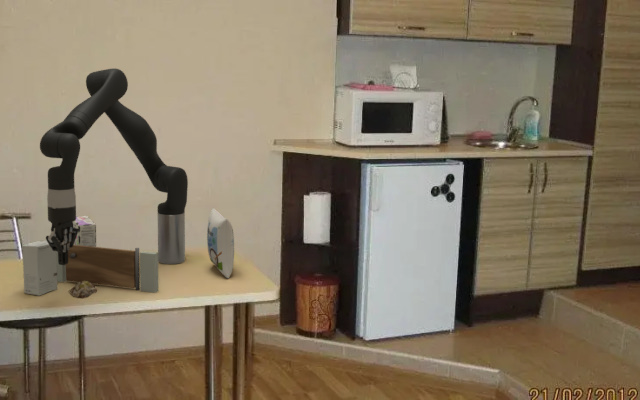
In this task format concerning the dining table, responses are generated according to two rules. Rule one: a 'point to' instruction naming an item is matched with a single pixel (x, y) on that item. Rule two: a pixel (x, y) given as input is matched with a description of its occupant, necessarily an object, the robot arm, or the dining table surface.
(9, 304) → the dining table surface
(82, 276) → the door
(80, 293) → the mineral rock
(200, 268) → the dining table surface
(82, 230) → the candy box
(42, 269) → the skincare box
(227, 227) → the pouch
